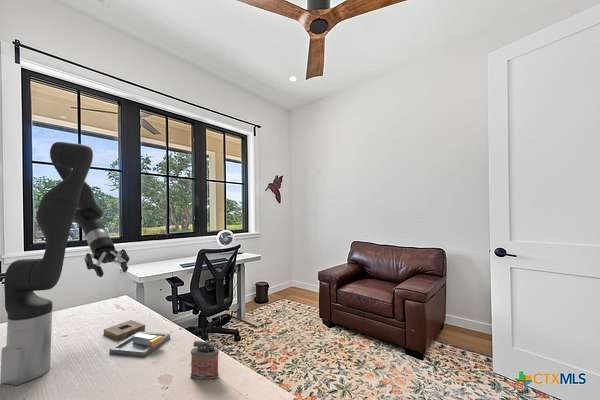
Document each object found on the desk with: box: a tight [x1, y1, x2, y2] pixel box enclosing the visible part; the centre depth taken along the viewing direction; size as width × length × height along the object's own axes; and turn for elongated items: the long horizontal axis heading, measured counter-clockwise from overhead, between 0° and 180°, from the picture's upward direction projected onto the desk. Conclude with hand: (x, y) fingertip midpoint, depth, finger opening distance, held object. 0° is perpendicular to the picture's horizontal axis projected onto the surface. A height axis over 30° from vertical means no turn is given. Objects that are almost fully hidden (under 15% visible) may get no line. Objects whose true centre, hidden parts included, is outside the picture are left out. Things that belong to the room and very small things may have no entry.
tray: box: [109, 331, 171, 358], centre depth 94 cm, size 13×13×2 cm
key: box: [133, 333, 163, 347], centre depth 93 cm, size 4×2×12 cm
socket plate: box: [103, 319, 146, 341], centre depth 104 cm, size 10×10×2 cm
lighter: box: [190, 339, 220, 382], centre depth 76 cm, size 8×3×10 cm, turn 84°
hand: (114, 273), depth 104 cm, fingers open, 8 cm apart
